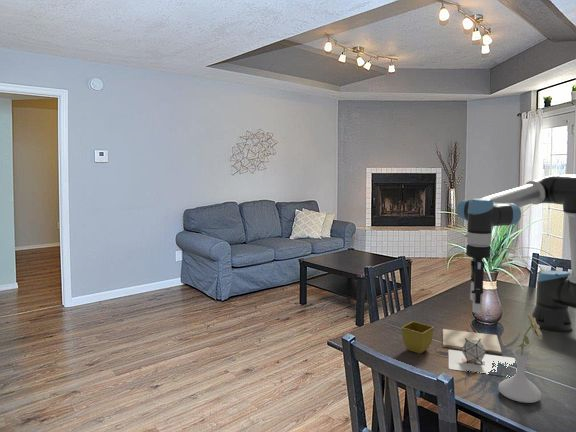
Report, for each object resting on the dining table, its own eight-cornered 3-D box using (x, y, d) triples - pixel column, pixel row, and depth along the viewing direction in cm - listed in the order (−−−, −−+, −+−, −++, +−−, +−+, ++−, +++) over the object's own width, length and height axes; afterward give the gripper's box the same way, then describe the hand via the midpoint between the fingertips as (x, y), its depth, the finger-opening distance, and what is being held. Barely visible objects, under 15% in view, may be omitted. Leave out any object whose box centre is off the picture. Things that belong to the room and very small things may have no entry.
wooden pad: (496, 337, 174) (496, 335, 174) (501, 354, 159) (501, 351, 159) (442, 331, 181) (443, 329, 181) (442, 346, 166) (442, 344, 166)
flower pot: (400, 350, 163) (400, 326, 162) (412, 343, 169) (412, 320, 168) (421, 357, 157) (422, 333, 156) (433, 350, 163) (434, 326, 162)
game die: (474, 369, 155) (488, 345, 156) (482, 372, 147) (497, 346, 148) (451, 355, 157) (465, 330, 158) (458, 356, 149) (472, 331, 150)
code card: (514, 358, 156) (514, 357, 156) (521, 379, 141) (522, 378, 141) (448, 349, 163) (448, 349, 163) (448, 368, 148) (448, 368, 148)
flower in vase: (529, 411, 123) (535, 325, 120) (490, 394, 132) (494, 314, 129) (551, 396, 131) (556, 315, 127) (512, 381, 140) (517, 305, 137)
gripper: (465, 238, 161) (462, 294, 163) (468, 251, 137) (465, 316, 140) (487, 239, 158) (484, 296, 161) (494, 252, 135) (491, 319, 138)
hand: (475, 306), depth 151 cm, fingers open, 13 cm apart
